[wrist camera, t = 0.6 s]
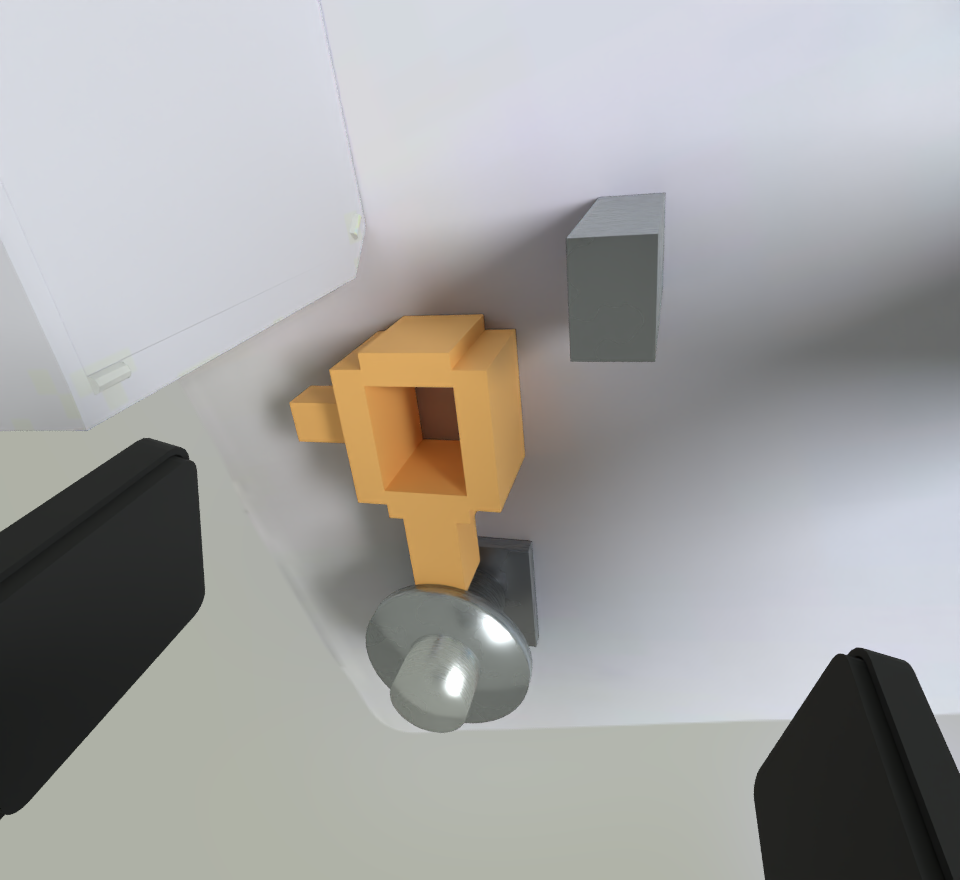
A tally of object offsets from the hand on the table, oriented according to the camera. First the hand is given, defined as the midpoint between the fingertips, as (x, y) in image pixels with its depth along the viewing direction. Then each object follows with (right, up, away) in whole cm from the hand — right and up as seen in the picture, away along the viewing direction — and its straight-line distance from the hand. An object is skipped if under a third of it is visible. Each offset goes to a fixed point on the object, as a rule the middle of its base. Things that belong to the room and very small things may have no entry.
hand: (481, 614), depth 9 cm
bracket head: (-3, +3, +29) cm, 30 cm away
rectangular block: (+7, +12, +21) cm, 25 cm away
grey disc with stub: (0, -7, +34) cm, 35 cm away
